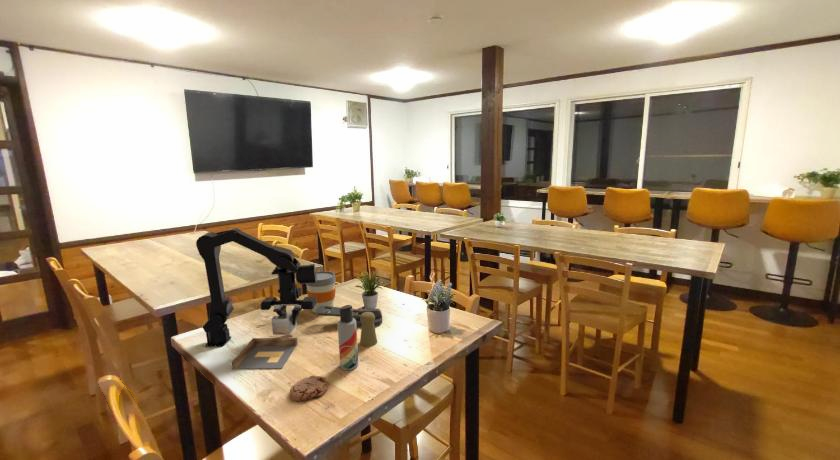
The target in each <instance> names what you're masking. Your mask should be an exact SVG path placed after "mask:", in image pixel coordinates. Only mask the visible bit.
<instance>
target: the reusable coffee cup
mask: <svg viewBox="0 0 840 460" xmlns="http://www.w3.org/2000/svg"><path fill="white" fill-rule="evenodd" d="M316 273H317V281H316V283H309V284H305V285H306V294H307V297H315V298H316V302H317V304H316V305H315V306H314V308H313V309H311V311H312V312H313V313H316V314H317V309H318V308H319V307H320V306H321V305H324V306H332V307H334V304H335V303H334V302H335V298H336V289H337V288H336V281H337V280H336V274H335V272H333V271H330V270H329V271H328V270H323V271H322V270H320V271H316ZM323 312H324V313H330V309H324V310H323Z"/></svg>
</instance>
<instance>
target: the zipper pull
mask: <svg viewBox="0 0 840 460" xmlns="http://www.w3.org/2000/svg"><path fill="white" fill-rule="evenodd" d="M340 308H341V307H340V306H333V307H332V306H324V305H321V306H320V307H319V308H318V309H317V313H316V316H322V317H324V316H325V317H340ZM324 309H330V311H329V312H326V313H324V312H323V310H324ZM352 310H353V318H354V319H355V320H356V326H357V328H361V327H362V323H361V321H360V316H361V314H362V313H364V312H372V313H373V314H374V315H375V321H374V327H375V328H376V327H380V326H381V325H382V324H383V315H382V311H381V309H379V308H375V309H365V308H361V309H357V308H356V309H355V308H352Z"/></svg>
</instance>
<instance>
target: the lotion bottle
mask: <svg viewBox="0 0 840 460" xmlns="http://www.w3.org/2000/svg"><path fill="white" fill-rule="evenodd" d="M339 308H340V318H339V319H338V321H337V335H338V337H337V338H338V353H339V355H338V356H339V365H340V368H341V369H342V370H344V371H351V370H354V369H356V368H358V366H359V352H358V351H359V350H358V349H359V348H358V331H357V330H358V329H357V328H358V327H357V326H356V320H355V319H354V318H353V314H354V313H353V310H352V309H353V306H352V305H351V304H346V305H343V306H341V307H339Z"/></svg>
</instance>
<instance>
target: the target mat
mask: <svg viewBox="0 0 840 460" xmlns="http://www.w3.org/2000/svg"><path fill="white" fill-rule="evenodd" d="M296 347H297V346H256V347H255V348H254V349H253V350H252V351H251V352H250V354H249V355H248V356H247V357H246V358H245V360H244V361H243V362H242V363H241V364H240V365H239V367H238V368H237V369H236V370H278V369H279V370H280V369H283V367H284V366H285V364H286V363H287V362H288V360H289V358H290V356H292V353H293V352H294V350H295V349H296Z"/></svg>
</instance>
